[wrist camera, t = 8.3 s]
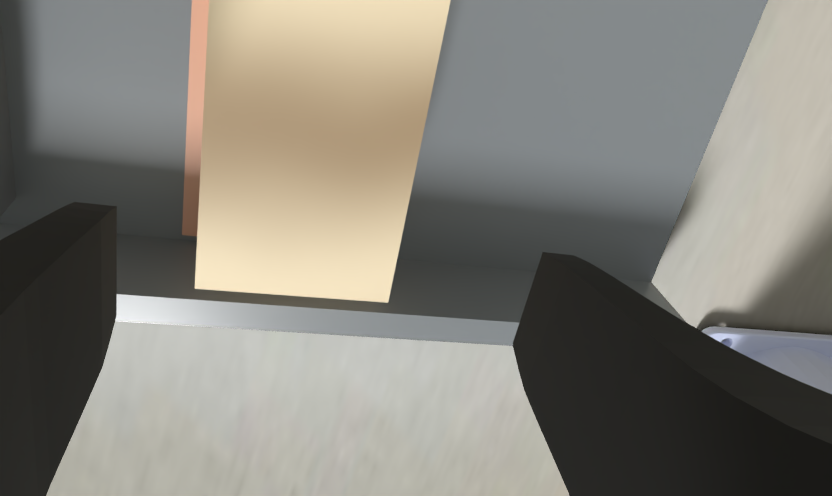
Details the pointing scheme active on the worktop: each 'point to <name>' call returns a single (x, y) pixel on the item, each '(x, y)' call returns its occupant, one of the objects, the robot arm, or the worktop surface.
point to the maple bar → (312, 142)
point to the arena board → (437, 162)
